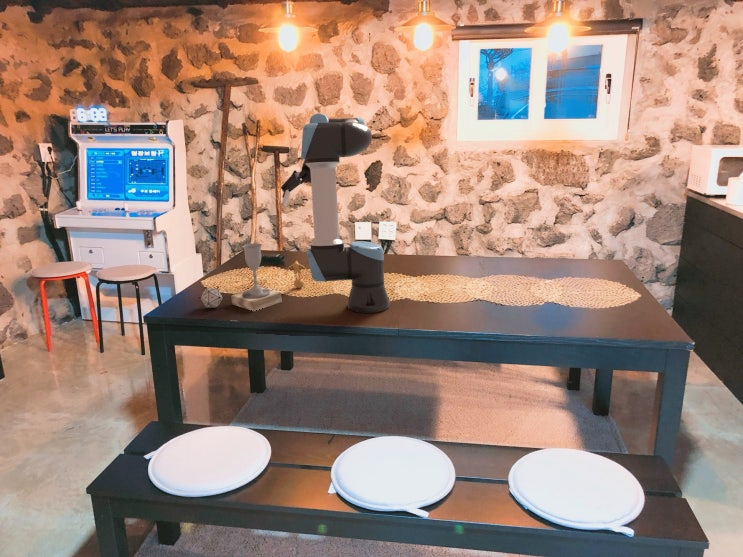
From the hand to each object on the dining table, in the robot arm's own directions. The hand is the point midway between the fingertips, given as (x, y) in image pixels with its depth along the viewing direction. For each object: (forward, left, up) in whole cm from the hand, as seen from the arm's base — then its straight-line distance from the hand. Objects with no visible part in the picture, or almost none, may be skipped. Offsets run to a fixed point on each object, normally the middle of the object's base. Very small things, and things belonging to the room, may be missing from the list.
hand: (299, 205), depth 234 cm
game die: (+6, +41, -32) cm, 52 cm away
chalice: (-3, +27, -28) cm, 39 cm away
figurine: (-3, +6, -32) cm, 33 cm away
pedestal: (-3, +27, -32) cm, 42 cm away
